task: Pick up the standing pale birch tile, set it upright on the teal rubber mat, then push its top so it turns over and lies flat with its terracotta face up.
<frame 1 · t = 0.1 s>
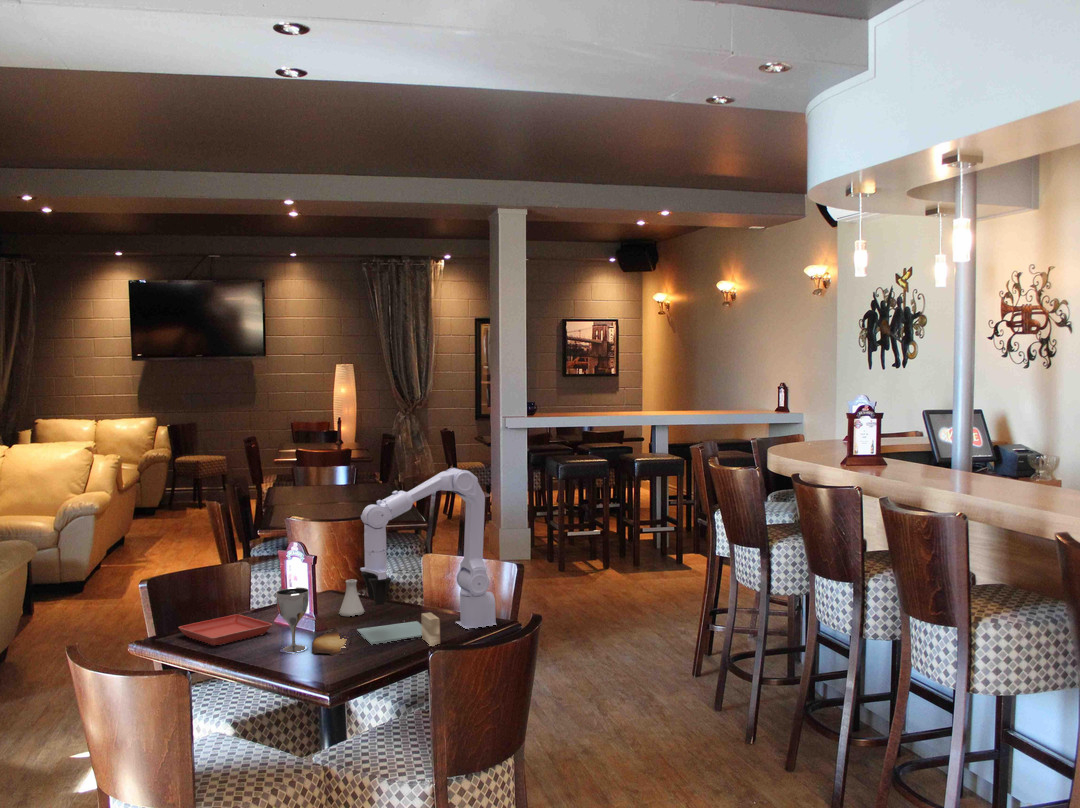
hand: (376, 601, 235), 10 cm above the table, tool pointing down, fingers open, 7 cm apart
wine glass: (293, 650, 227), on the table
flask: (351, 614, 262), on the table
parchment: (332, 643, 233), on the table
mat: (394, 634, 240), on the table
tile: (430, 642, 231), on the table
plant saucer: (225, 637, 240), on the table
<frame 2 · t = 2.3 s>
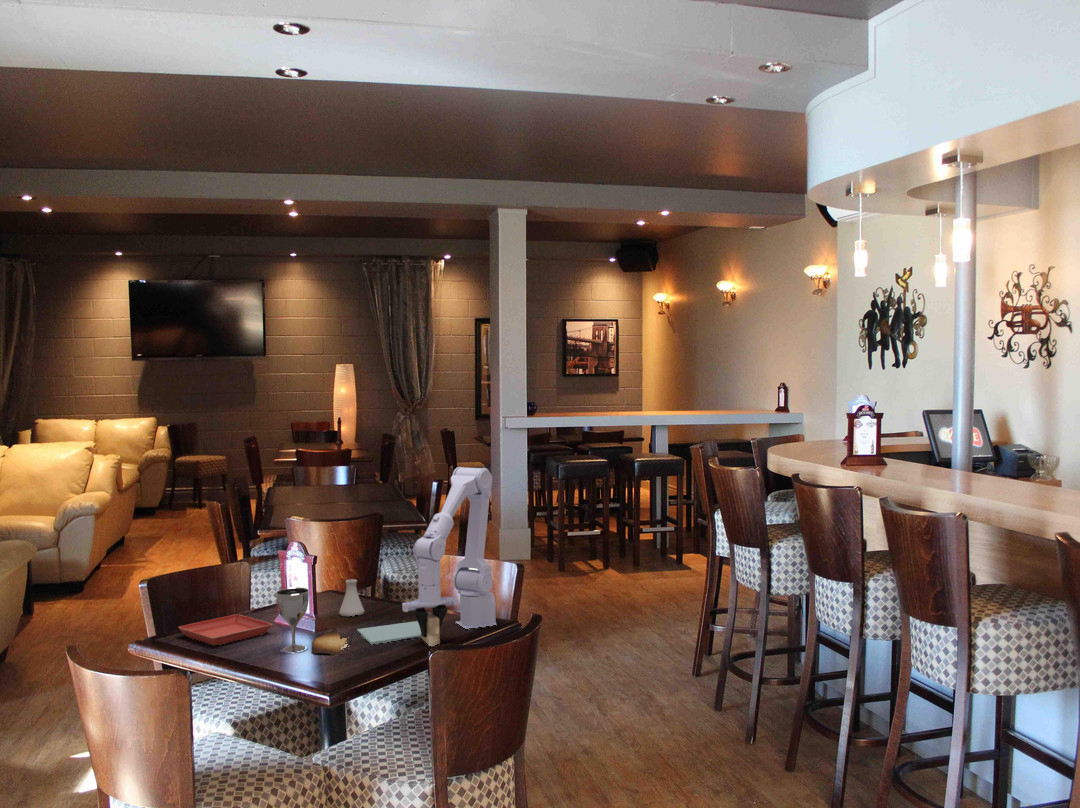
hand: (430, 635, 231), 2 cm above the table, tool pointing down, fingers closed on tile, 3 cm apart
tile: (430, 642, 231), on the table, touching gripper
everything else where it was.
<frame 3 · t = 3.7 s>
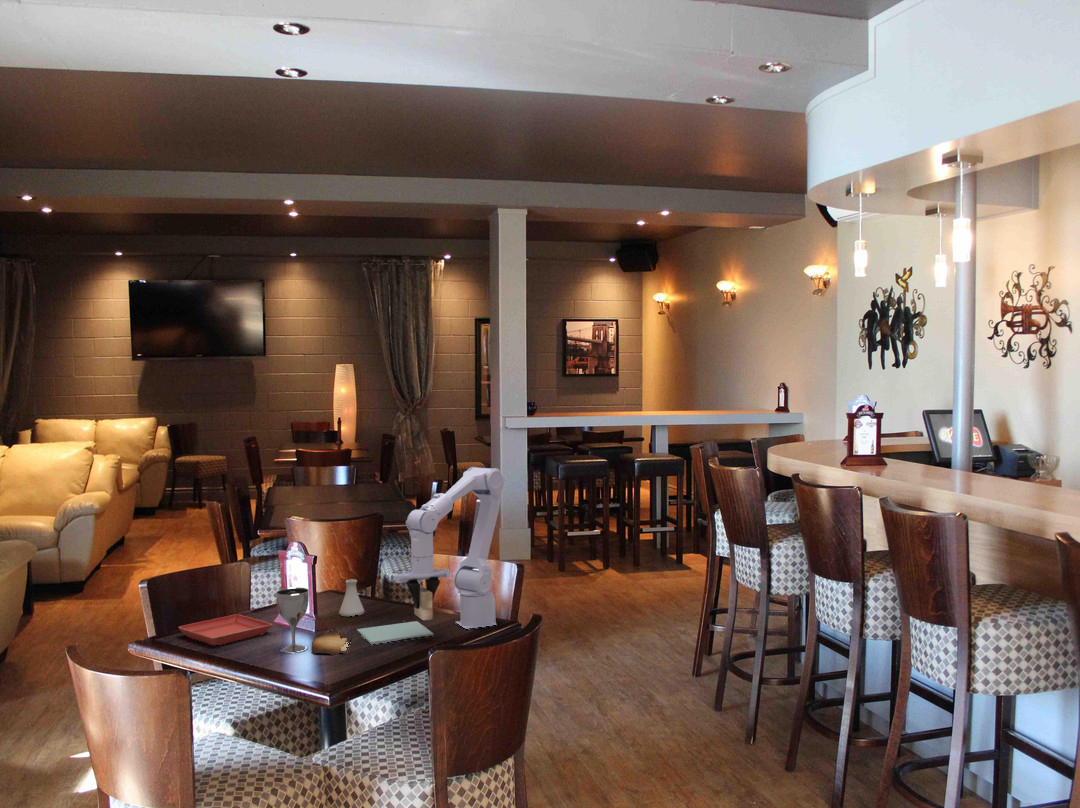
hand: (423, 607, 233), 9 cm above the table, tool pointing down, fingers closed on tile, 3 cm apart
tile: (423, 616, 233), point 6 cm above the table, touching gripper
everything else where it was.
when the fingers open (4 cm above the table, at t = 5.6 s): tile stays where it is, resting on mat.
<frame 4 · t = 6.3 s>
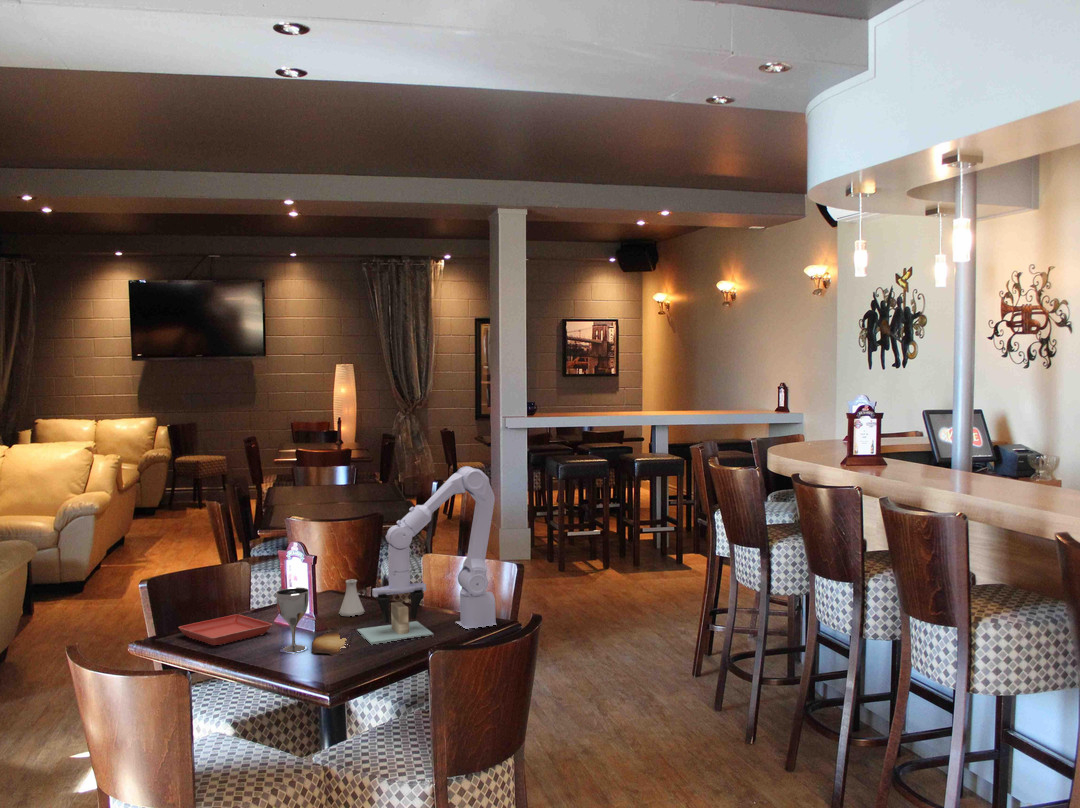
hand: (400, 620, 240), 4 cm above the table, tool pointing down, fingers open, 7 cm apart
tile: (399, 630, 240), point 1 cm above the table, touching mat
everything else where it was.
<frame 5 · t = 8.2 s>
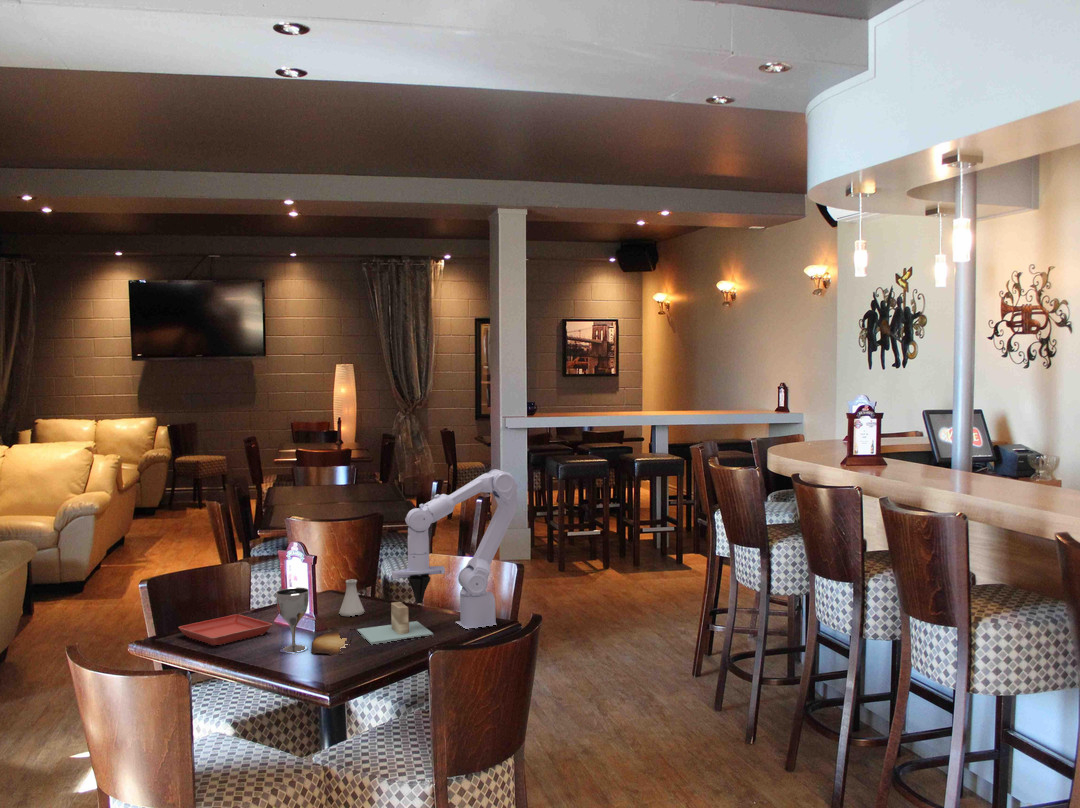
hand: (419, 602, 242), 8 cm above the table, tool pointing down, fingers closed
nothing on the table moved.
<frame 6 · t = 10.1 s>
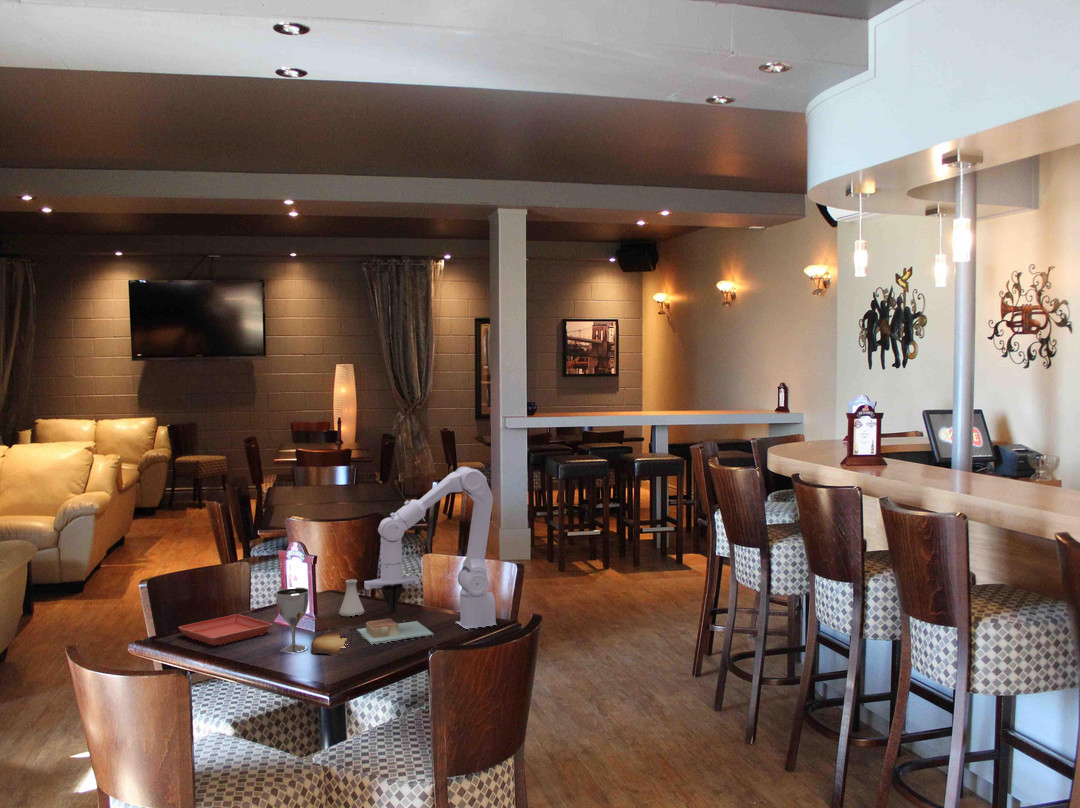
hand: (392, 612, 239), 6 cm above the table, tool pointing down, fingers closed
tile: (395, 626, 239), point 2 cm above the table, tilted 90°, touching mat
everything else where it was.
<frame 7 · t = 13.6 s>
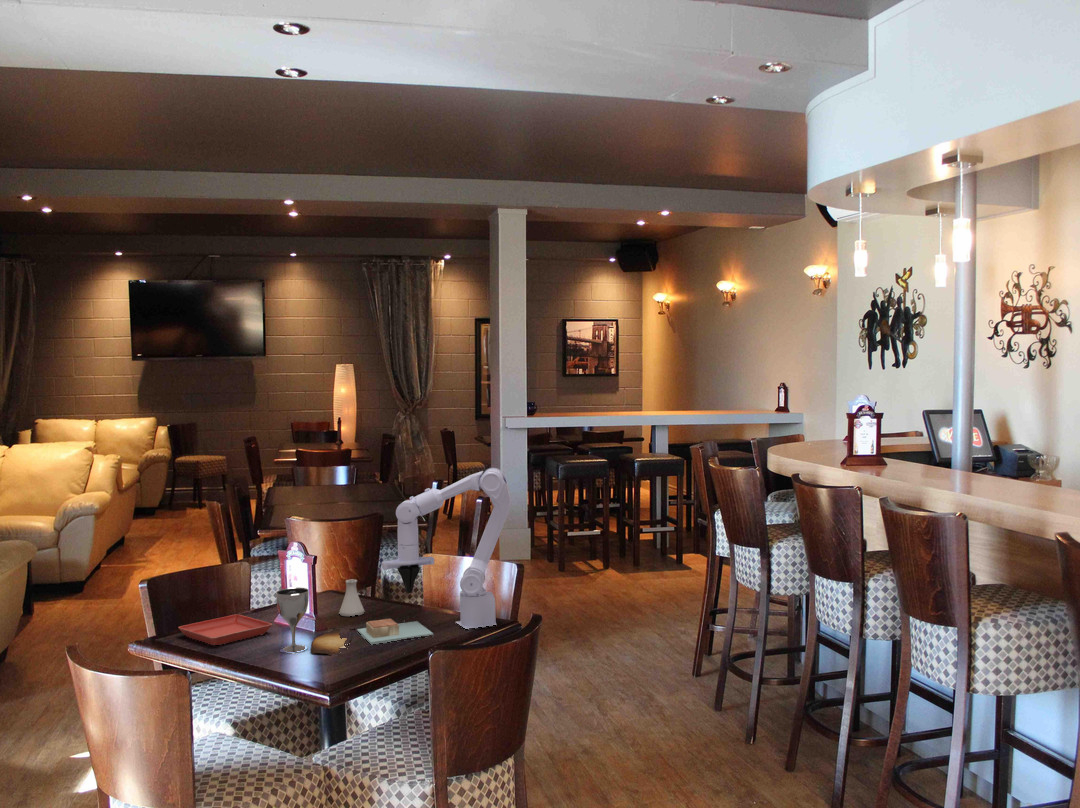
hand: (408, 592, 247), 9 cm above the table, tool pointing down, fingers closed
nothing on the table moved.
at the end: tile tilted 90°; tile touching mat; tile inside the target area (1.5 cm from its centre), point 2.0 cm above the table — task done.
